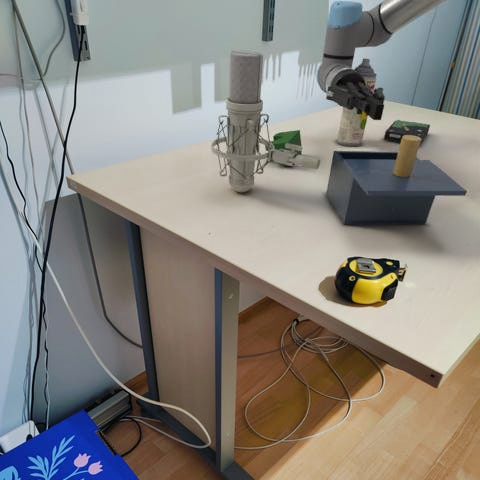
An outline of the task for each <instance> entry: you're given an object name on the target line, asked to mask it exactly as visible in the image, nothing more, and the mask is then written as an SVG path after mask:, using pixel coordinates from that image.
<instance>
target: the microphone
mask: <svg viewBox="0 0 480 480" xmlns="http://www.w3.org/2000/svg"><path fill="white" fill-rule="evenodd" d="M263 61H264V54H263V53H262V52H259V51H253V50H234V49H233V50H231V51H230V53H229V90H228V91H229V93H228V94H229V95H228V96H229V97H228V98H226V101H225V102H226V103H225V105H226V106H225V109H226V111H227V115H226V114H221V115H218V124H219V125H218V130H217V133H216V134H215V136H217V138H215V139H214V140H212V142H211V148H210V149H211V153H212V154H214V156H217V159H218V163H219V168H220V169H219V176H220V177H227V176H228V184H229V186H230V187H231V188H232V190H234V191H235V192H237V193H246V192H248V191H249V190H251V188H252V187H253V186H254V185H255V174H257V175H263V174H264V168H265V167H266V166H267V165H268V164H269V163H270V162H271V161H270V160H274V161H273V162H274V163H277V164H281V165H282V164H285V165H290V166H289V167H292V166H299V167H302V168H307V169H312V170H315V171H316V170H317V171H318V169H319V167H320V165H321V159H320V158H317V157H312V156H307V155H302V154H301V155H297V152H295V150H297V151H302V152H303V146H298V145H294V144H288V143H286V144H285V148H288V149H292V151H288V150H284V149H279V150H275V148H274V145H273V144H272V143H271V142H270V141H271V140H270V133H269V125H268V123H269V121H270V120H269V119H270V115H269V114H268V113H262V112H263V109H264V107H263V106H264V101H263V99H261V94H262V93H261V92H262V78H263V65H264V64H263V63H264V62H263ZM262 117H266V118H263V122H262V124H261V121H262ZM221 118H226V124H225V125H224V119H222V120H221ZM264 124H266V129H267V130H266V131H267V137H268V139H264V138H263V136H261V130H262V127H263V126H264ZM223 125H224V127H223ZM220 128H221V129H220ZM225 128H226V134H225ZM221 132H222V134H223V136H221V137H220V135H221V134H220V133H221ZM222 143H225V145H226V150H225V152H223V151H221V150H220V144H222ZM260 144H262V145H264V146H265V145H267V146H268V151H267V152H266V153H262V154H261V152H260V149H261V148H260V146H261V145H260ZM215 146H216V148H215ZM269 147H270V148H271V149H270V148H269ZM220 158H222V159H223V165H224V167H223V168H222V165H221V159H220ZM265 159H266V162H265V163H263V164H261V161H262V160H265ZM256 161H257V164H256ZM227 166H228V167H229V168H228V170H227ZM255 166H256V170H255ZM224 171H225V173H224ZM228 171H229V175H228ZM222 173H224V174H222Z"/></svg>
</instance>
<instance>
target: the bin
mask: <svg viewBox="0 0 480 480" xmlns="http://www.w3.org/2000/svg"><path fill="white" fill-rule="evenodd" d="M397 155H398V151H368V150H367V151H364V150H361V151H360V150H357V151H356V150H354V151H353V150H333V152H332V159H331V164H330V169H329V174H328V175H329V176H328V181H327V187H326V192H325V195H326V196H327V198H328V200H329V202H330V203H331V205H332V207H333V208H334V211H335V212H336V213H337V216H338V217H339V219H340V220H341V222H342V224H343V225H344V226H345V225H347V226H350V225H351V226H353V225H356V226H357V225H359V226H361V225H362V226H363V225H364V226H367V225H372V226H374V225H376V226H377V225H378V226H379V225H380V226H381V225H393V226H395V225H396V226H397V225H426V224H427V221H428V219H429V215H430V212H431V210H432V207H433V204H434V201H435V198H436V196H400V195H367V194H366V193H365V191H364V190H363V189H362V187H361V186H360V185H359V183H358V182H357V181H356V180H355V178H354V177H353V176H352V174H351V173H350V172H349V170H348V169H347V168H346V166H345V165H344V164H343V162H344V159H376V160H396V158H397ZM415 160H421V159H420V158H419V157H417V156H416V159H415Z"/></svg>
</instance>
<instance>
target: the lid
mask: <svg viewBox="0 0 480 480" xmlns="http://www.w3.org/2000/svg"><path fill="white" fill-rule="evenodd" d="M420 142H421V138H420V137H417V136H413V135H404V136H403V137H402V140H401V143H399V148H398V151H397V152H398V155H397V158H396V160H376V159H344V162H343V164H344V165H345V166H346V168H347V169H348V170H349V172H350V173H351V174H352V176H353V177H354V178H355V180H356V181H357V182H358V183H359V185H360V186H361V187H362V189H363V190H364V191H365V193H366V194H367V195H400V196H435V197H436V196H438V197H439V196H440V197H441V196H442V197H443V196H444V197H447V196H452V197H454V196H456V197H458V196H459V197H462V196H464V197H465V196H467V193H468V190H466V189H465V188H464V187H463V186H462V185H460V184H459V183H458V182H456V181H455V179H453V178H452V177H450V175H448V174H447V173H446V172H445V171H443V170H442V169H441V168H439V167H438V165H436V164H435V163H433V162H432V161H431V160H430V159H420V160H415V159H416V157H417V156H418V152H419V149H420V146H421V145H420Z"/></svg>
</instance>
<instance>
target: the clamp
mask: <svg viewBox="0 0 480 480" xmlns="http://www.w3.org/2000/svg"><path fill="white" fill-rule="evenodd" d="M272 137H273V140H270V142H271V143H272V144H273V145H274V148H275V150H279V149H284V150H288V151H292V149H288V148H285V144H286V143H288V144H294V145H298V146H302V138H301V130H300V129H295V130H289V131H281V132H277V133H275V134H274V135H273V136H272ZM302 147H303V146H302ZM264 148H265V151H266V152H268V146H267V145H264ZM269 148H270V147H269ZM270 149H271V148H270ZM295 152H297V155H302V152H303V150H302V151H297V150H295ZM269 161H270V162H274V160H269ZM281 165H282V166H283V167H288V166H289V167H291V166H290V165H285V164H281Z"/></svg>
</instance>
